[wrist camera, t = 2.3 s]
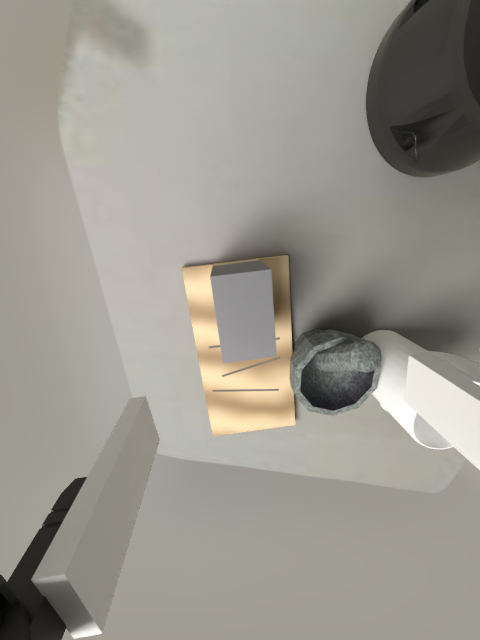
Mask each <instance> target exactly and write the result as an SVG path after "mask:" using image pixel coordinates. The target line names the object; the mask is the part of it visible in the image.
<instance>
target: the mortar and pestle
mask: <svg viewBox="0 0 480 640" xmlns="http://www.w3.org/2000/svg"><path fill="white" fill-rule="evenodd" d="M381 361H382V356H381V350H380V349H379V347H378V346H377V345H376V344H375V343H374V342H372V341H369V340H365V339H361V338H359V337H357V336H355V335H352V334H348V333H344V332H340V331H336V330H333V329H328V330H320V329H314V330H312V331H309V332H306V333H303V334H302V335H301V336H300V337H299V339H298V340H297V341H296V342H295V344H294V345H293V353H292V355H291V357H290V378H289V379H290V384H291V388H292V390H293V393H294V394H295V395H296V397H297V398H298V399H299V400H300V401H301V403H302V404H303V405H304V406H305V407H306V408H307V410H308V411H311V412H316V413H321V414H326V415H331V416H334V415H337V414H340V413H343V412H346V411H349V410H352V409H355V408H358V407H360V405H361V404H362V403H363V402H364V401H365V400H366V399H367V398H368V397H369V396H370V395H371V394H372V393H373V392H374V391H375V390H376V389H377V386H378V381H379V375H380V370H381Z"/></svg>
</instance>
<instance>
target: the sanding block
mask: <svg viewBox="0 0 480 640" xmlns="http://www.w3.org/2000/svg"><path fill="white" fill-rule="evenodd" d="M210 280H211V287H212V293H213V300H214V307H215V313H216V320H217V327H218V334H219V340H220V347H221V354H222V360H223V363H230V362H237V361H245V360H253V359H260V358H268V357H276V356H277V352H276V336H275V321H274V305H273V289H272V274H271V269H270V268H269V267H267V266H266V265H265V264H263V263H262V262H261V261H259V260H258V259H255V260H247V261H239V262H230V263H222V264H213V267H212V271H211V275H210Z"/></svg>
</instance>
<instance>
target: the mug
mask: <svg viewBox="0 0 480 640" xmlns="http://www.w3.org/2000/svg"><path fill="white" fill-rule="evenodd" d="M361 339H365V340H369V341H372V342H374V343H375V344H376V345H377V346H378V347H379V349H380V350H381V356H382V361H381V370H380V375H379V381H378V386H377V389H376V390H375V391H374V392H373V393H372V394H373V396H374V397H375V398H376V399H377V400H378V401H379V402H380V403H381V406H382V407H383V408H384V410H386V411H388V412H389V413H390V414H391V415H392V416H393V417H394V418H395V419H396V420H397V421H398V422H399V423H400V424H401V426H402V427H403V428H404V429H405V430H406V431H407V432H408V433H409V434H410V435H411V436H412V437H413V438H414V439H415V441H417V442H418V443H419V444H421V445H423V446H426V447H428V448H432V449H447V448H452V447H454V446H453V445H452V444H450V443H449V442H448V441H447V440H446V439H445V438H444V437H443V436H442V435H441V434H440V433H438V432H437V431H436V430H435V429H434V428H433V427H432V426H431V425H430V424H429V423H428V422H427V421H425V420H424V419H423V418H422V417H421V416H420V415H419V414H418V413H417V412H416V411H415V410H413V409H412V408H411V407H410V406H409V405H408V404H407V403H406V402H405V401H404V394H405V385H406V377H407V368H408V359H409V355H413V354H420V353H425V354H427V355H428V356H430V357H432V358H433V359H435V360H437V361H439V362H440V363H442V364H444V365H445V366H447V367H449V368H450V369H452V370H454V371H455V372H457V373H459V374H460V375H462V376H464V377H466V378H467V379H469V380H471V381H472V382H474V383H476V384H477V385H479V386H480V366H479V365H477V364H476V363H474V362H472V361H470V360H468V359H466V358H463V357H460V356H457V355H453V354H449V353H443V352H436V351H427V350H425V349H424V348H422V347H420V346H418V345H417V344H415V343H413V342H411V341H410V340H408V339H406V338H404V337H403V336H401V335H399V334H398V333H396V332H394V331H390V330H377V331H374V332H371V333H369V334H367V335H365V336H364V337H362V338H361Z"/></svg>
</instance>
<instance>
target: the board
mask: <svg viewBox="0 0 480 640" xmlns="http://www.w3.org/2000/svg"><path fill="white" fill-rule="evenodd" d="M255 259H258V260H259V261H261V262H262V263H263V264H265V265H266V266H267V267H269V268H270V269H271V274H272V289H273V305H274V321H275V336H276V352H277V356H276V357H268V358H260V359H253V360H245V361H237V362H230V363H223V360H222V354H221V347H220V340H219V334H218V327H217V320H216V313H215V307H214V300H213V293H212V287H211V280H210V275H211V271H212V267H213V264H222V263H230V262H239V261H247V260H255ZM255 259H247V260H238V261H230V262H221V263H213V264H205V265H196V266H188V267H182V273H183V278H184V284H185V289H186V294H187V300H188V305H189V310H190V316H191V321H192V326H193V332H194V337H195V343H196V348H197V353H198V359H199V364H200V369H201V375H202V380H203V386H204V391H205V396H206V402H207V407H208V412H209V418H210V423H211V428H212V434H213V436H218V435H225V434H233V433H240V432H247V431H254V430H261V429H268V428H276V427H283V426H290V425H295V406H294V393H293V390H292V388H291V384H290V379H289V378H290V357H291V355H292V331H291V305H290V280H289V256H288V255H281V256H272V257H264V258H255Z"/></svg>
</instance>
